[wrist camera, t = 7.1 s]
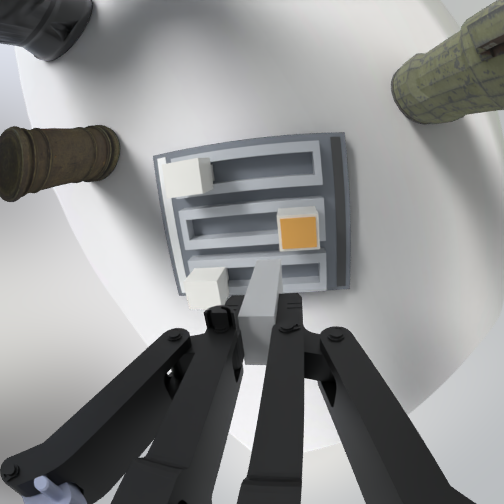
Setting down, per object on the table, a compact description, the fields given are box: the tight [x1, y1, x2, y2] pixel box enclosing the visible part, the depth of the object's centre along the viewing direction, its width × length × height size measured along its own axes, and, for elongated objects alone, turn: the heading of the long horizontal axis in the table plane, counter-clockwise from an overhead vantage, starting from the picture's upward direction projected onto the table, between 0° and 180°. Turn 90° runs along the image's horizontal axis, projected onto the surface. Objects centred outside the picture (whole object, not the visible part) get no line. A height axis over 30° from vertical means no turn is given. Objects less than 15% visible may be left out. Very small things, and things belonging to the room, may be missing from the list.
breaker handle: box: [277, 206, 320, 252], centre depth 29 cm, size 4×4×7 cm
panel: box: [153, 132, 351, 310], centre depth 31 cm, size 20×24×9 cm
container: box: [0, 125, 120, 202], centre depth 27 cm, size 9×9×18 cm
